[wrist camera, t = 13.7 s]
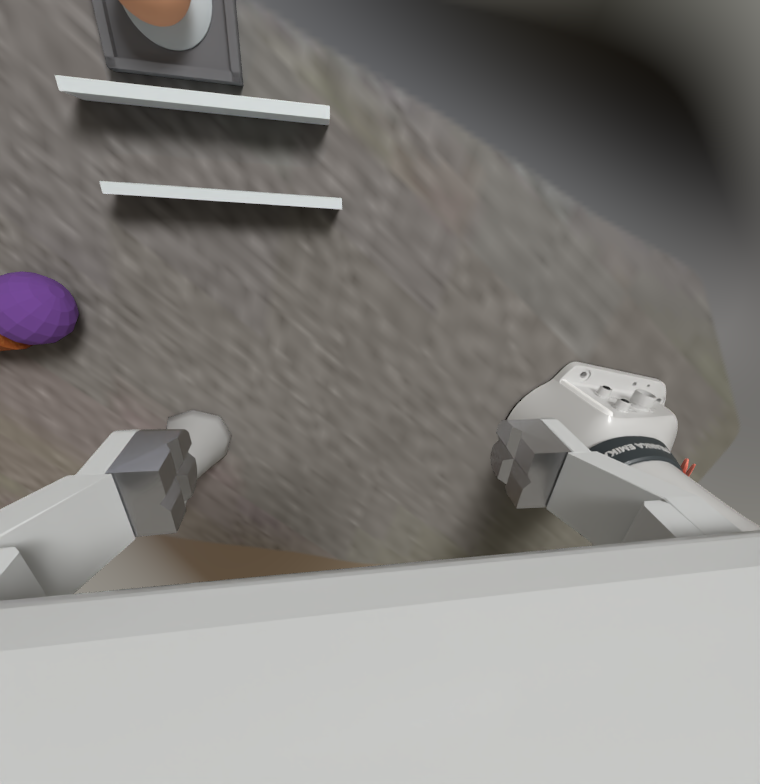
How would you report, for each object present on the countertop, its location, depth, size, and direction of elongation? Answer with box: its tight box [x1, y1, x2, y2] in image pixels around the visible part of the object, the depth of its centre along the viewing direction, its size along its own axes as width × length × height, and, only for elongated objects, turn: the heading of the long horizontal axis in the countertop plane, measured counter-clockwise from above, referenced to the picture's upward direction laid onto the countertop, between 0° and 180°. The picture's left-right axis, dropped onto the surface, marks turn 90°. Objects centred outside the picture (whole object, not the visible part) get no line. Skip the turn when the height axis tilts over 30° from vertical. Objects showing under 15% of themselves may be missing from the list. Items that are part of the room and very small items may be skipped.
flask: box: [166, 410, 231, 506], centre depth 38 cm, size 7×7×10 cm
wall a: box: [99, 181, 342, 209], centre depth 30 cm, size 18×1×3 cm, turn 86°
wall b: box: [55, 75, 330, 125], centre depth 27 cm, size 18×1×3 cm, turn 86°
